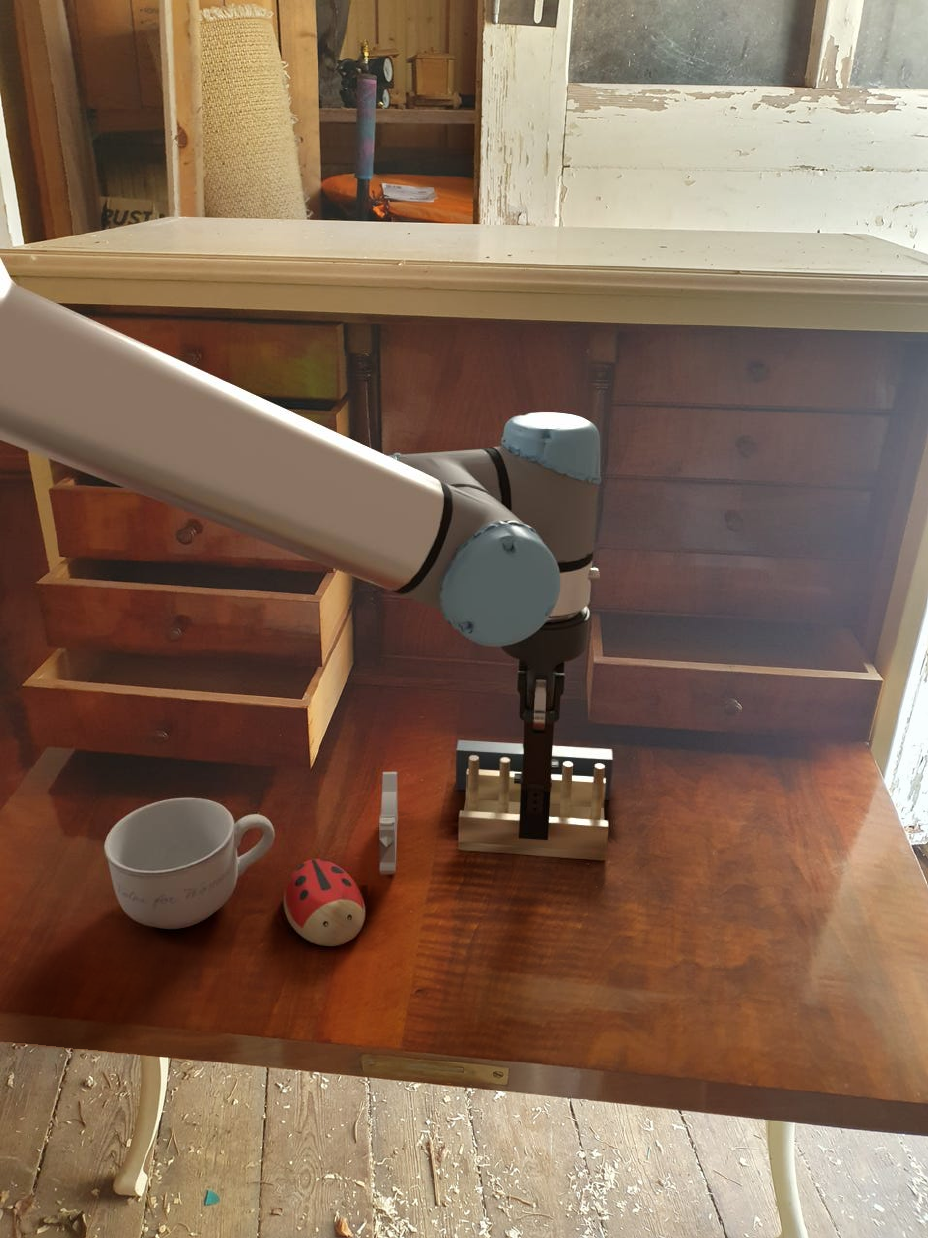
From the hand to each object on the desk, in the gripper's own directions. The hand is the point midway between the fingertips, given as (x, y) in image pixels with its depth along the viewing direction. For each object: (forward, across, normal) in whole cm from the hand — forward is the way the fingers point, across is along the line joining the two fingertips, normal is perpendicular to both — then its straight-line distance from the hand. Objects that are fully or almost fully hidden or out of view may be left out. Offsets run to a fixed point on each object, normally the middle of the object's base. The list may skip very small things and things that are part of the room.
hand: (533, 834), depth 90 cm
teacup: (+3, -9, +29) cm, 31 cm away
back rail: (+3, +11, 0) cm, 12 cm away
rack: (+3, +5, 0) cm, 6 cm away
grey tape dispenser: (+3, 0, +14) cm, 14 cm away
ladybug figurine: (+3, -9, +18) cm, 20 cm away
